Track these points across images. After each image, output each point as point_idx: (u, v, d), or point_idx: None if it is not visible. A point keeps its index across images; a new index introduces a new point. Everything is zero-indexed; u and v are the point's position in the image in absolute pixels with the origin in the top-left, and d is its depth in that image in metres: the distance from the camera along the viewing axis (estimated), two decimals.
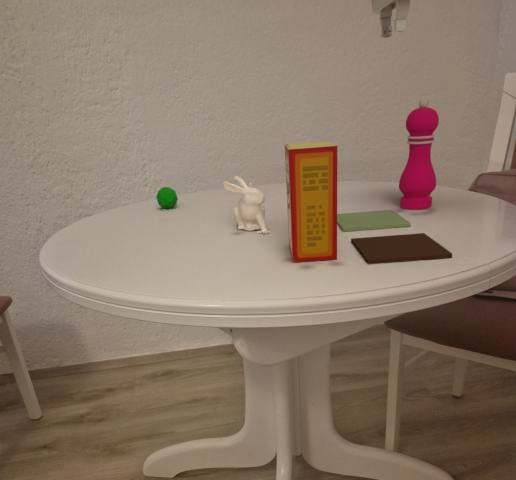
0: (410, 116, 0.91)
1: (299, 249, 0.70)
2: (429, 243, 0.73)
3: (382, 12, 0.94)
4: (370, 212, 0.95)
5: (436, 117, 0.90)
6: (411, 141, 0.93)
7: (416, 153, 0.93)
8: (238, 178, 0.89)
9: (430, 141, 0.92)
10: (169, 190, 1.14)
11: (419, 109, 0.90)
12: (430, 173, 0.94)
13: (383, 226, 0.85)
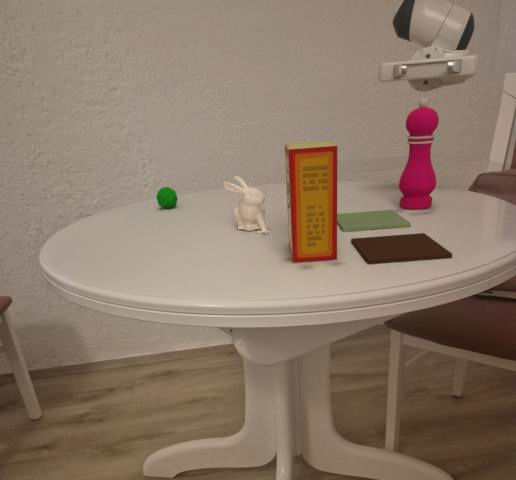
0: (410, 116, 0.91)
1: (299, 249, 0.70)
2: (429, 243, 0.73)
3: (452, 71, 1.00)
4: (370, 212, 0.95)
5: (436, 117, 0.90)
6: (411, 141, 0.93)
7: (416, 153, 0.93)
8: (238, 178, 0.89)
9: (430, 141, 0.92)
10: (169, 190, 1.14)
11: (419, 109, 0.90)
12: (430, 173, 0.94)
13: (383, 226, 0.85)
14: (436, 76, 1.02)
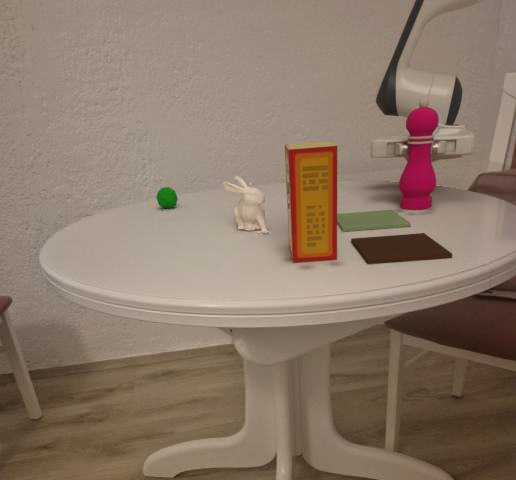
0: (410, 116, 0.91)
1: (299, 249, 0.70)
2: (429, 243, 0.73)
3: None
4: (370, 212, 0.95)
5: (436, 117, 0.90)
6: (411, 141, 0.93)
7: (416, 153, 0.93)
8: (238, 178, 0.89)
9: (430, 141, 0.92)
10: (169, 190, 1.14)
11: (419, 109, 0.90)
12: (430, 173, 0.94)
13: (383, 226, 0.85)
14: (430, 155, 0.98)
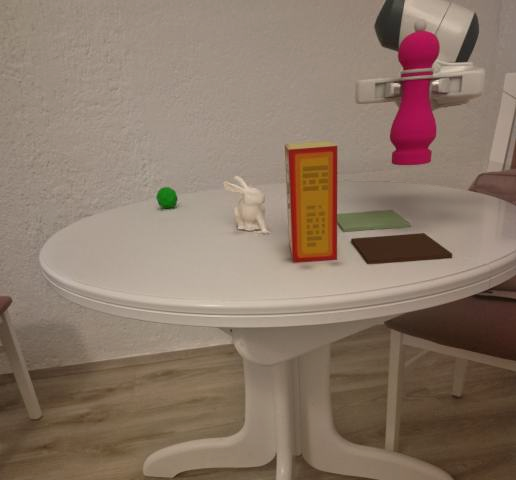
0: (403, 43, 0.71)
1: (299, 249, 0.70)
2: (429, 243, 0.73)
3: None
4: (370, 212, 0.95)
5: (436, 43, 0.70)
6: (405, 76, 0.73)
7: (411, 92, 0.74)
8: (238, 178, 0.89)
9: (429, 75, 0.72)
10: (169, 190, 1.14)
11: (415, 33, 0.71)
12: (429, 117, 0.74)
13: (383, 226, 0.85)
14: (429, 97, 0.78)
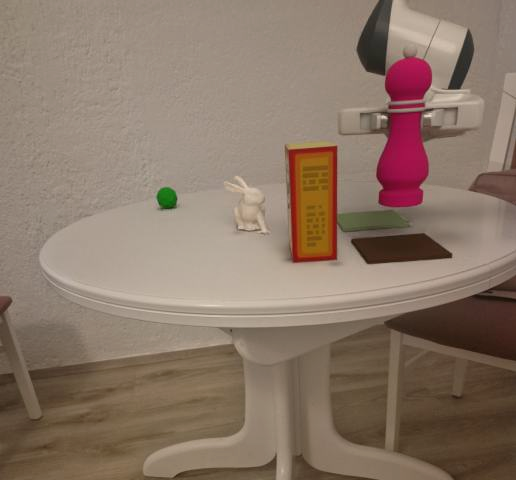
0: (390, 71, 0.62)
1: (299, 249, 0.70)
2: (429, 243, 0.73)
3: None
4: (370, 212, 0.95)
5: (428, 71, 0.61)
6: (392, 108, 0.64)
7: (399, 126, 0.64)
8: (238, 178, 0.89)
9: (420, 108, 0.63)
10: (169, 190, 1.14)
11: (403, 60, 0.61)
12: (420, 155, 0.65)
13: (383, 226, 0.85)
14: (421, 130, 0.69)
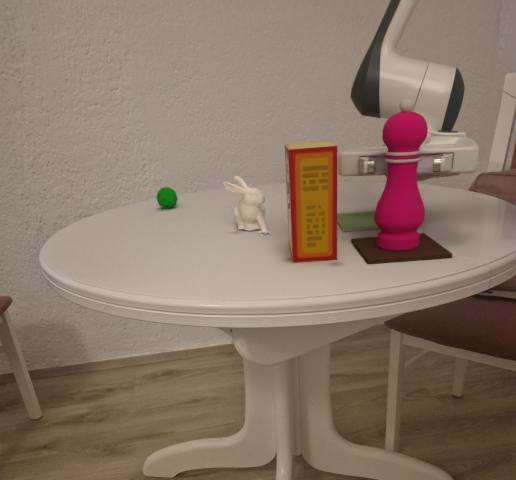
0: (388, 124, 0.65)
1: (299, 249, 0.70)
2: (429, 243, 0.73)
3: None
4: (370, 212, 0.95)
5: (424, 126, 0.64)
6: (389, 158, 0.67)
7: (396, 175, 0.67)
8: (238, 178, 0.89)
9: (416, 159, 0.66)
10: (169, 190, 1.14)
11: (400, 114, 0.64)
12: (416, 202, 0.68)
13: None
14: (418, 173, 0.71)
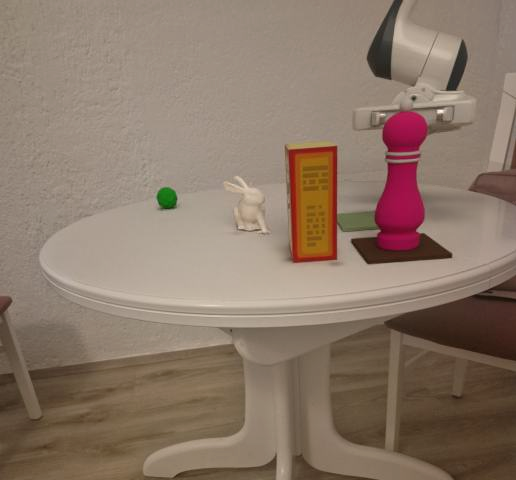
0: (387, 124, 0.65)
1: (299, 249, 0.70)
2: (429, 243, 0.73)
3: None
4: (370, 212, 0.95)
5: (424, 126, 0.64)
6: (389, 158, 0.67)
7: (396, 175, 0.67)
8: (238, 178, 0.89)
9: (416, 159, 0.66)
10: (169, 190, 1.14)
11: (400, 114, 0.64)
12: (416, 202, 0.68)
13: None
14: None
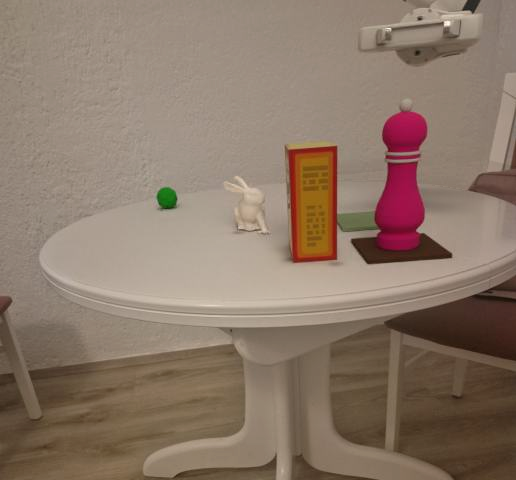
0: (387, 124, 0.65)
1: (299, 249, 0.70)
2: (429, 243, 0.73)
3: (449, 35, 0.79)
4: (370, 212, 0.95)
5: (424, 126, 0.64)
6: (389, 158, 0.67)
7: (396, 175, 0.67)
8: (238, 178, 0.89)
9: (416, 159, 0.66)
10: (169, 190, 1.14)
11: (400, 114, 0.64)
12: (416, 202, 0.68)
13: None
14: (429, 42, 0.81)
